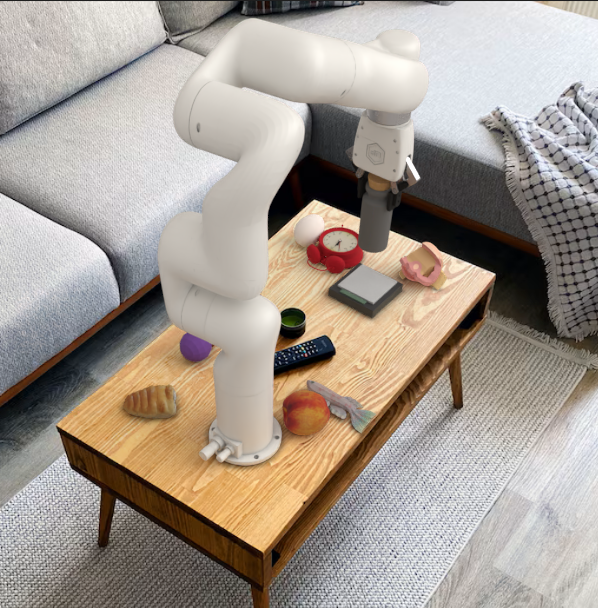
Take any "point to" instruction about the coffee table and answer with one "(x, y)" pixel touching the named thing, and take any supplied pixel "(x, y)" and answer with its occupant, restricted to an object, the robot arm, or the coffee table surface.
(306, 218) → the egg
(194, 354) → the kendama
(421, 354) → the coffee table surface
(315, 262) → the alarm clock
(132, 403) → the pastry
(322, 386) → the fish
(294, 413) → the fruit
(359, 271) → the scale
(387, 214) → the bottle
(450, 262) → the coffee table surface
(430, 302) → the coffee table surface
